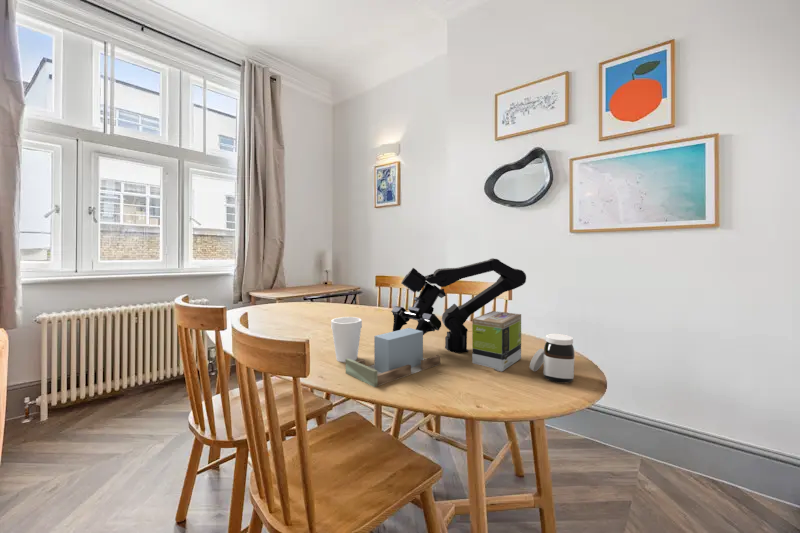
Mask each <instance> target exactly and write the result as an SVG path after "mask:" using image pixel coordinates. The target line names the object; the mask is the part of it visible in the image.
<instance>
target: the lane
mask: <svg viewBox="0 0 800 533" xmlns="http://www.w3.org/2000/svg"><path fill="white" fill-rule="evenodd" d="M441 358H442V357H441V355H440V354H437V355H434V356H431V357H428V358H425V357H423V360H421V365H418V366H415V367H412V368H411V365H409V364H408V365H405V366H402V367H399V368H396V369H393V370H390V371H387V372H384V373H380V372H378V371H377V370H375V363H374V364H371V365H368V366H367V365H366V360H365V359H360V360H355V361H354V360H351V359H349V358H348V359H346V362H345V374H346V375H348V376H351V377H353V378H355V379H356V380H359V381H361V382H364V383H365V384H368V385H369V386H371V387H373V388H375V387H379V386H381V385H384V384H387V383H391V382H393V381H395V380H398V379H401V378H404V377H407V376H411V375H414V374H415V373H418V372H422V371H425V370H427V369H430V368H433V367H435V366H439V365H441Z"/></svg>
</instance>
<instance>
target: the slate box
mask: <svg viewBox="0 0 800 533" xmlns="http://www.w3.org/2000/svg"><path fill="white" fill-rule="evenodd" d="M373 341H374V342H373V343H374V346H373V347H374V350H373V351H374V358H373V359H374V364H375V370H377V371H378V372H380V373H384V372H387V371H390V370H393V369H396V368H399V367H402V366H405V365H408V364H409V365H411V368H412V367H415V366H418V365H421V360H423V358H424V335H423V331H420V330H416V328H413V327H412V328H411V327H407V328H401V329H400V330H398V331H393V330H392V331H391V332H386V333H385V332H384V333H382V334H377V335H374V340H373Z"/></svg>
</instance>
